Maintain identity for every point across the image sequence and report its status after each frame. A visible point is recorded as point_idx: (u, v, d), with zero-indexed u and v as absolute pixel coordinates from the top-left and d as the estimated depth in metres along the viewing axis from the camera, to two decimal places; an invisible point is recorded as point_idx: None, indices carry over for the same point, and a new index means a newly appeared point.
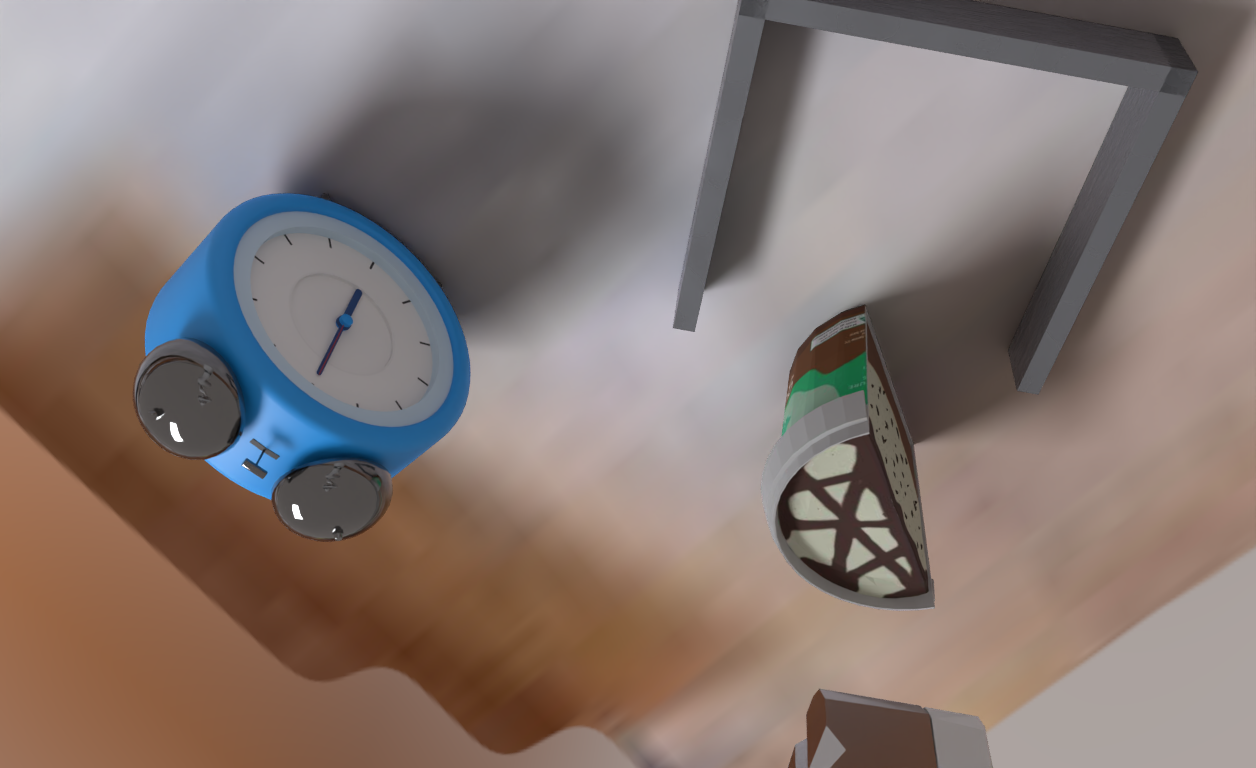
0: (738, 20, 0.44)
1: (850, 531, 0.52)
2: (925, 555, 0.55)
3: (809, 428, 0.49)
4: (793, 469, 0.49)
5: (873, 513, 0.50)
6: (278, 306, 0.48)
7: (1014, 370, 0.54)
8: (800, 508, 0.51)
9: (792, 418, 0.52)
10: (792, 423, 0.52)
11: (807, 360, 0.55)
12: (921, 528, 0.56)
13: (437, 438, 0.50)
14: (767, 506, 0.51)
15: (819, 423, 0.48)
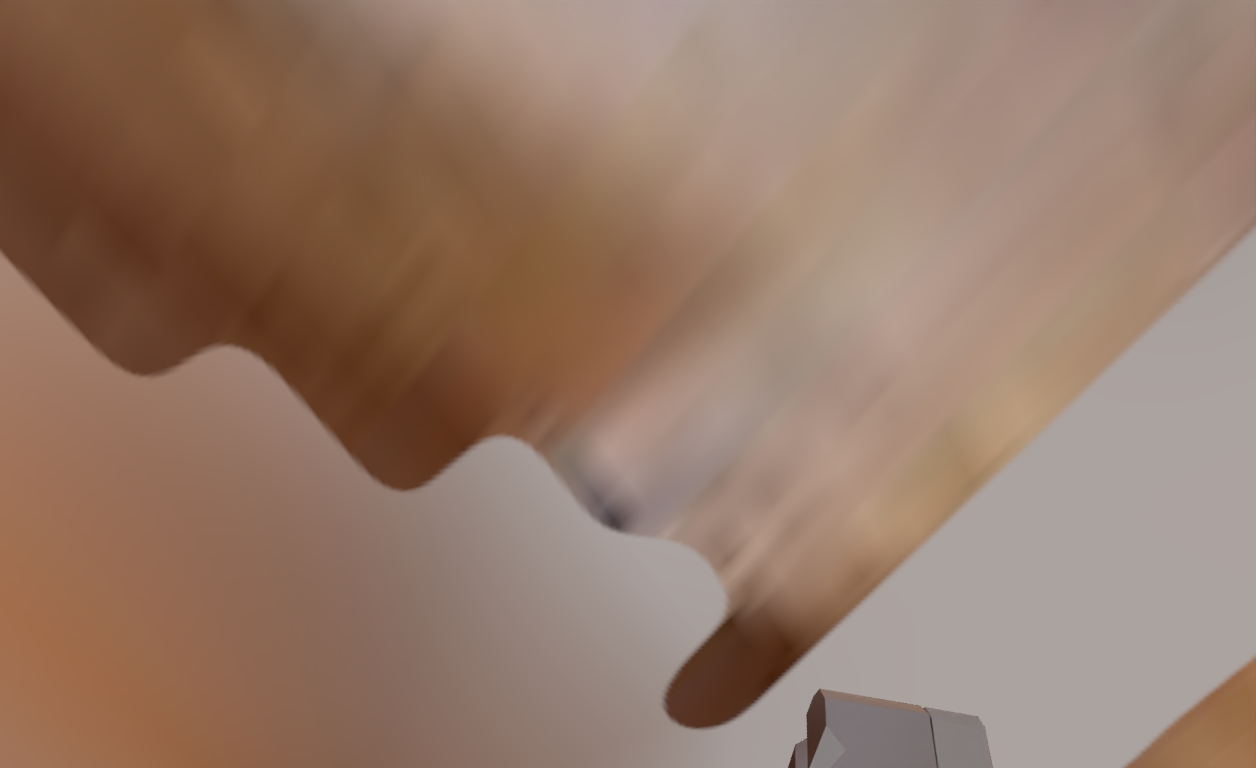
0: None
1: None
2: None
3: None
4: None
5: None
6: None
7: None
8: None
9: None
10: None
11: None
12: None
13: None
14: None
15: None
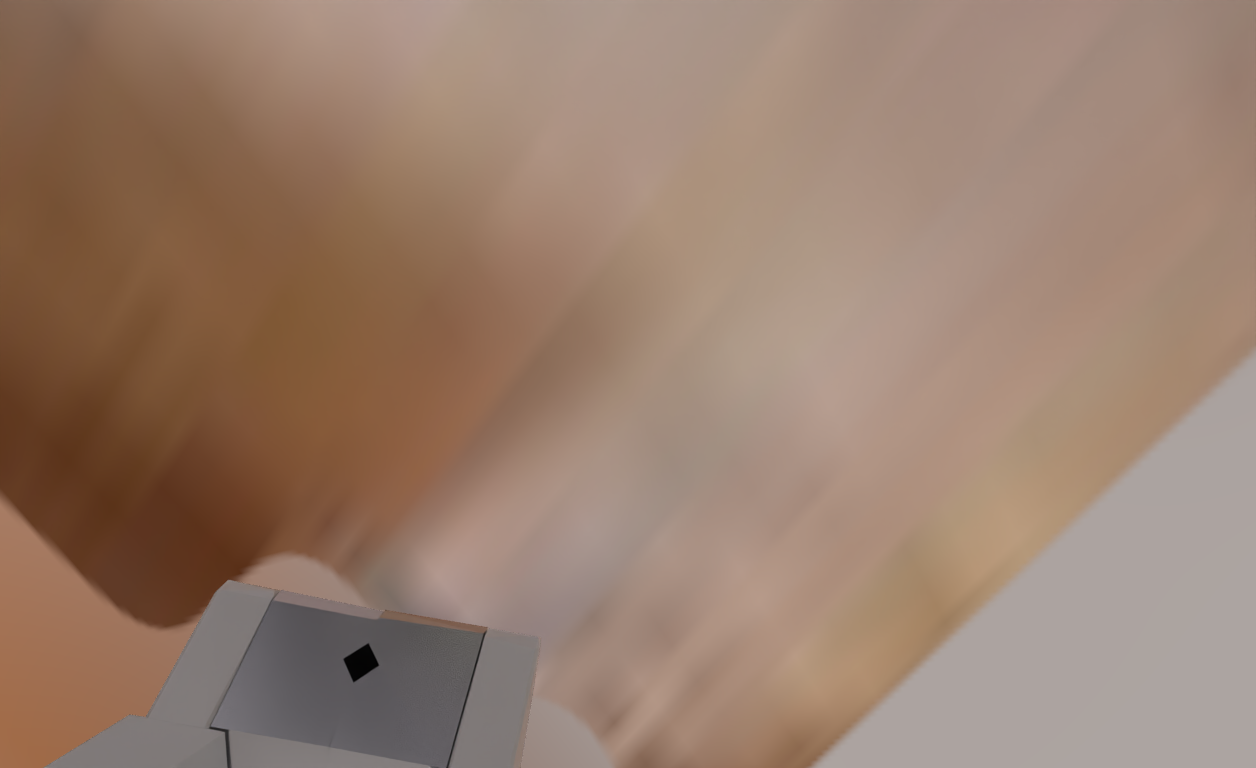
0: None
1: None
2: None
3: None
4: None
5: None
6: None
7: None
8: None
9: None
10: None
11: None
12: None
13: None
14: None
15: None
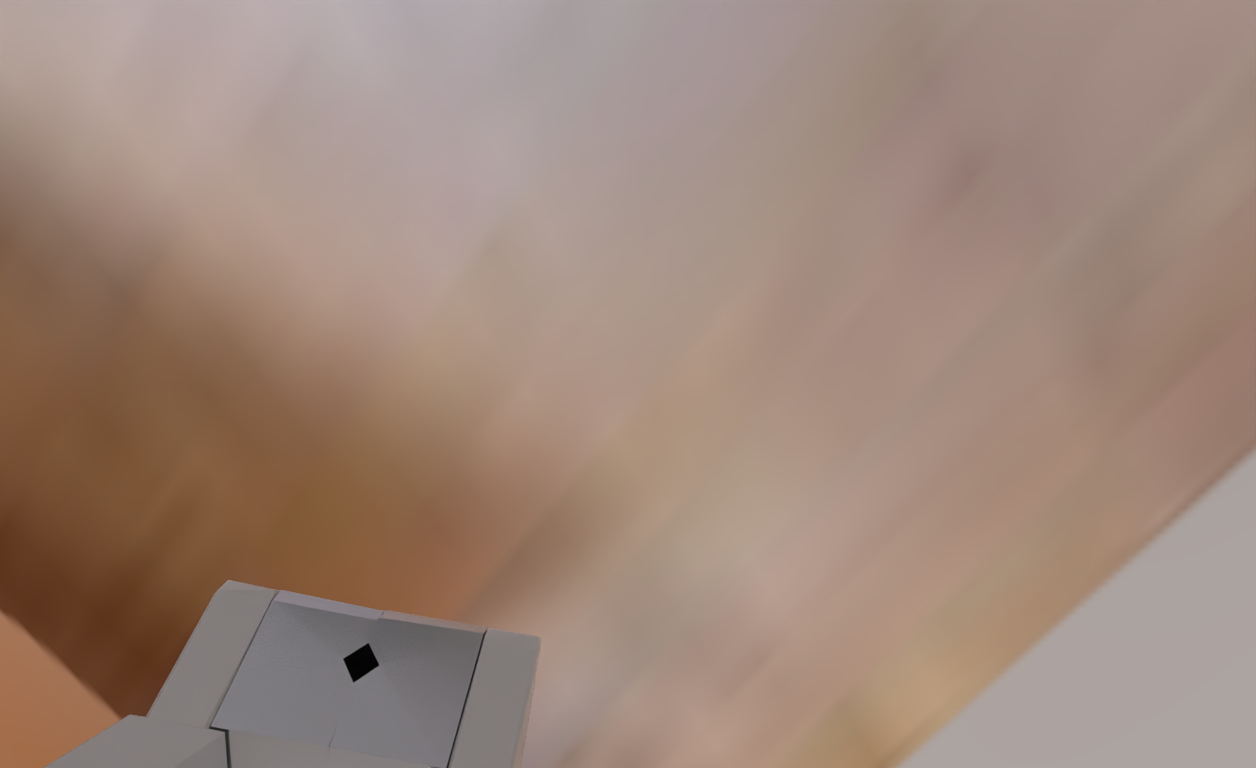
0: None
1: None
2: None
3: None
4: None
5: None
6: None
7: None
8: None
9: None
10: None
11: None
12: None
13: None
14: None
15: None
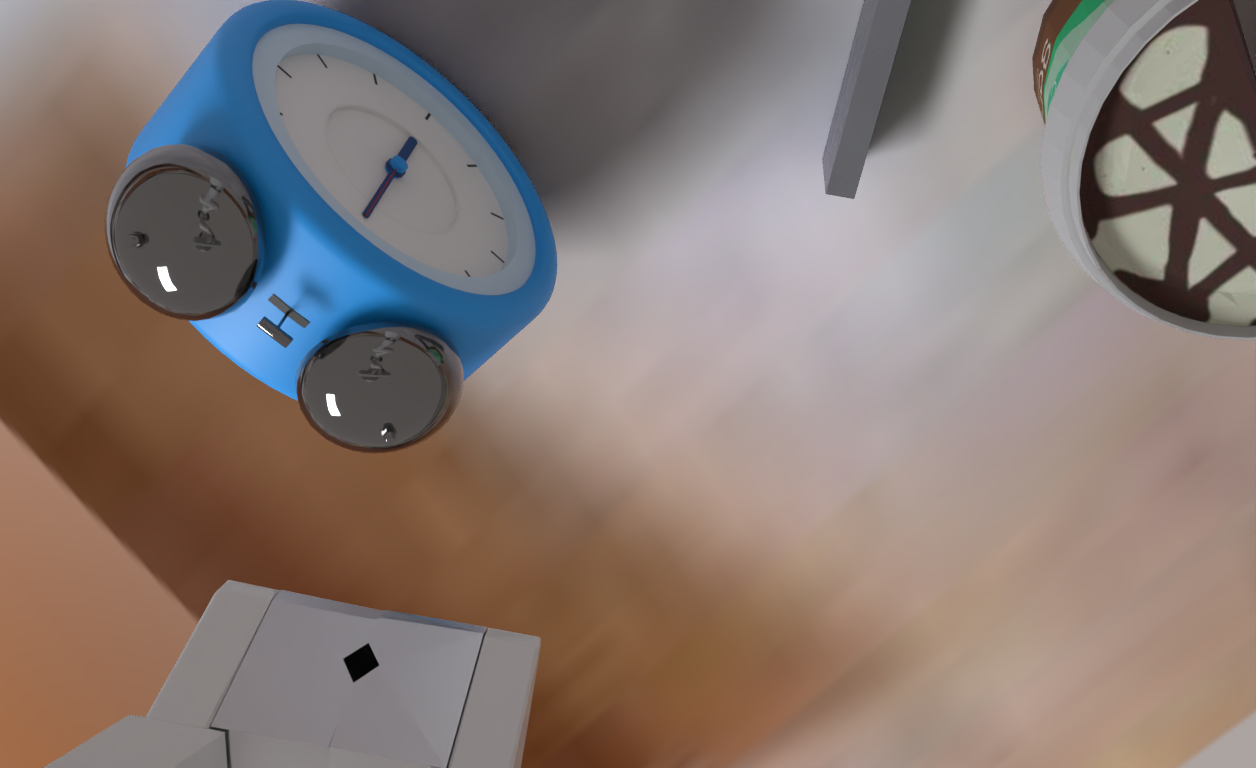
0: None
1: (1196, 204, 0.33)
2: None
3: (1125, 13, 0.31)
4: (1108, 82, 0.31)
5: (1236, 158, 0.32)
6: (310, 129, 0.35)
7: None
8: (1114, 173, 0.33)
9: (1073, 56, 0.34)
10: None
11: (1070, 1, 0.37)
12: None
13: (522, 320, 0.37)
14: (1061, 176, 0.33)
15: None
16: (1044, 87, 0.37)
